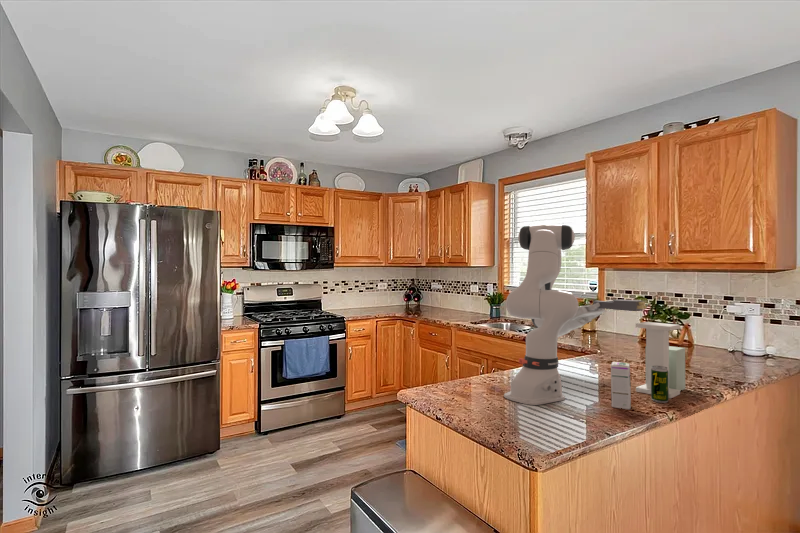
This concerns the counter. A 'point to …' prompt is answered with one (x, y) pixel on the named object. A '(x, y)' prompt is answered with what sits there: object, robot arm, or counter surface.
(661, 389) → the beer can
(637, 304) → the grey boxy piece
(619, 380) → the syrup box
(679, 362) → the socket block
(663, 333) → the tall shelf
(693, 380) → the counter surface
